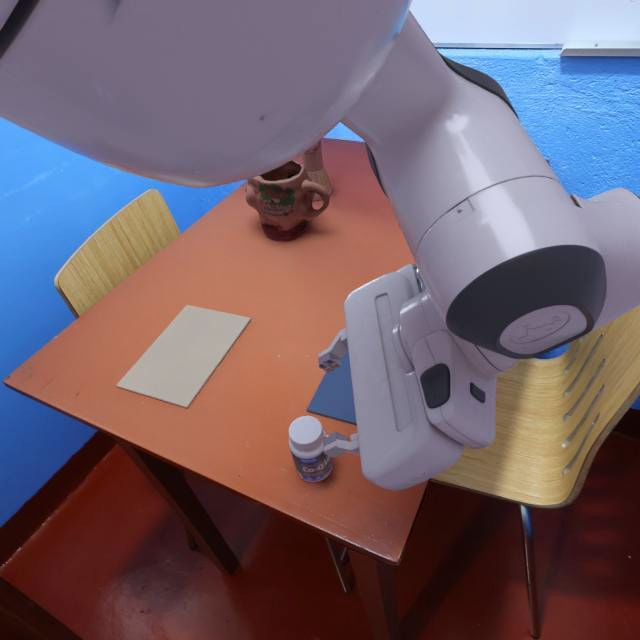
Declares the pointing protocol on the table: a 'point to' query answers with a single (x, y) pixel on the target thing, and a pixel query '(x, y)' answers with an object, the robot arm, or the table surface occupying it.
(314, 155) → the vase
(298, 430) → the pill bottle
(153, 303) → the table surface
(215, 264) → the table surface
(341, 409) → the blue mat
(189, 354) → the cream mat
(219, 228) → the table surface
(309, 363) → the table surface
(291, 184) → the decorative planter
